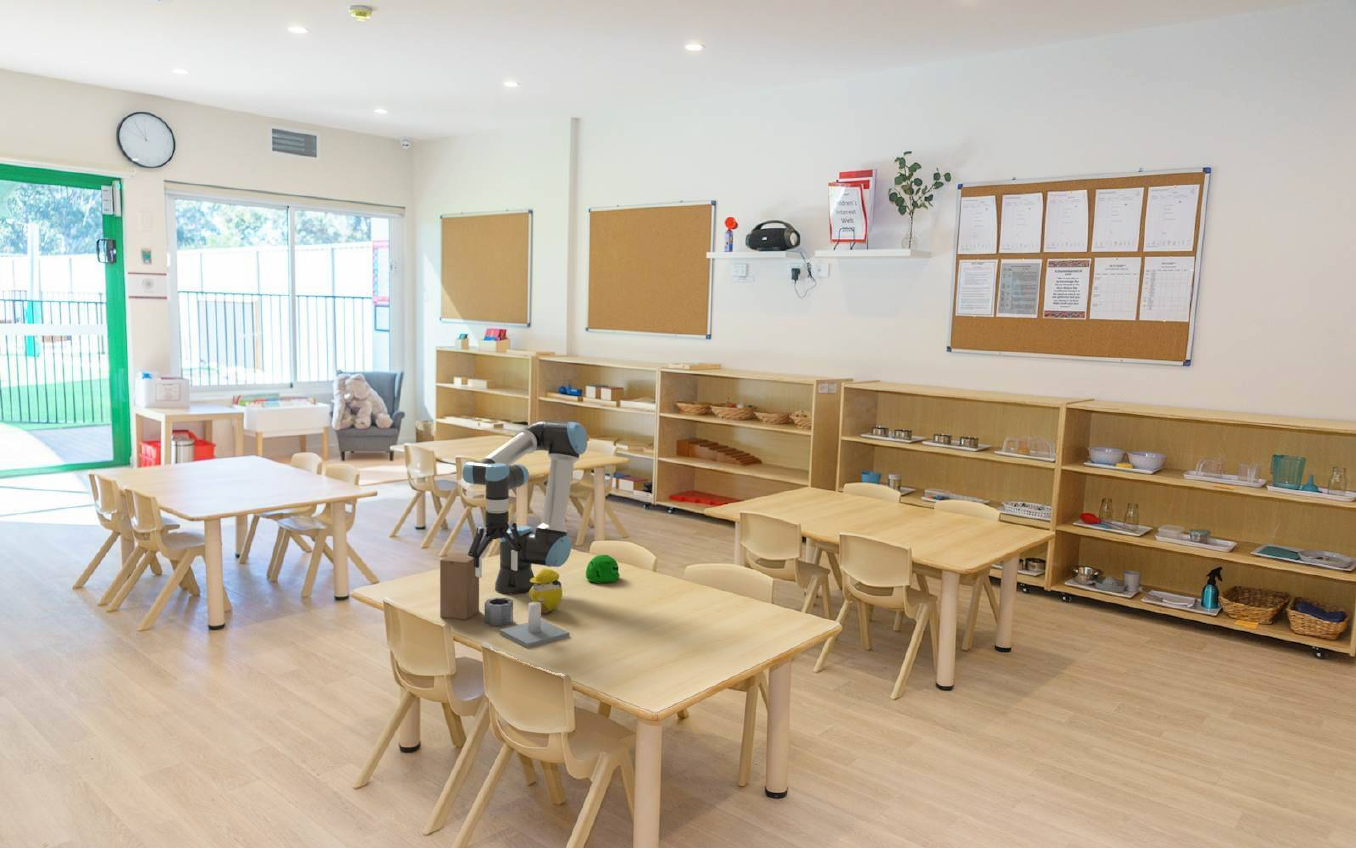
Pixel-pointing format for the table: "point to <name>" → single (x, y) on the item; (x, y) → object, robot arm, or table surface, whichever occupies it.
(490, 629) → the table surface
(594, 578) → the toy
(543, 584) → the toy
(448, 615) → the wooden block
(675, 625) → the table surface
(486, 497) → the robot arm
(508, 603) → the collar ring
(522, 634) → the piston post
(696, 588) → the table surface
